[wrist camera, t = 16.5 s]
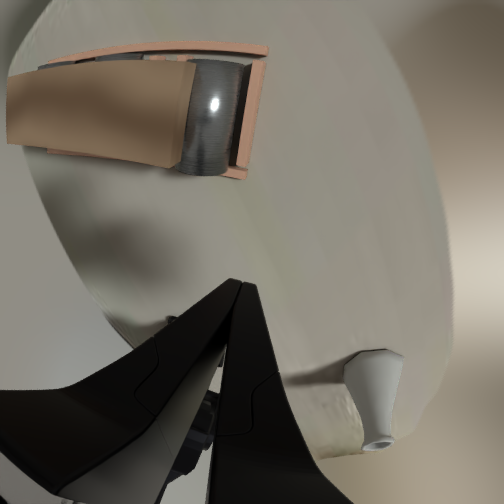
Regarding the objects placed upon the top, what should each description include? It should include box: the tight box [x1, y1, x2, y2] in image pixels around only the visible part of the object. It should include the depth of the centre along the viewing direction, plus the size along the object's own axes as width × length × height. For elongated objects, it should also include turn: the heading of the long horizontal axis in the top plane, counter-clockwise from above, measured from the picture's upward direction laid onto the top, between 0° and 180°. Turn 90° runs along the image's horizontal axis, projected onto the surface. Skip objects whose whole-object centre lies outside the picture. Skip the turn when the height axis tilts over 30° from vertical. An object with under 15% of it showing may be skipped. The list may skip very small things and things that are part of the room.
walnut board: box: [6, 60, 197, 168], centre depth 14 cm, size 6×17×2 cm, turn 78°
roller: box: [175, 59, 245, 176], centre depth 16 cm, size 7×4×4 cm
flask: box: [343, 350, 404, 451], centre depth 23 cm, size 7×7×10 cm
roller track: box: [47, 41, 269, 180], centre depth 17 cm, size 9×20×1 cm, turn 81°
